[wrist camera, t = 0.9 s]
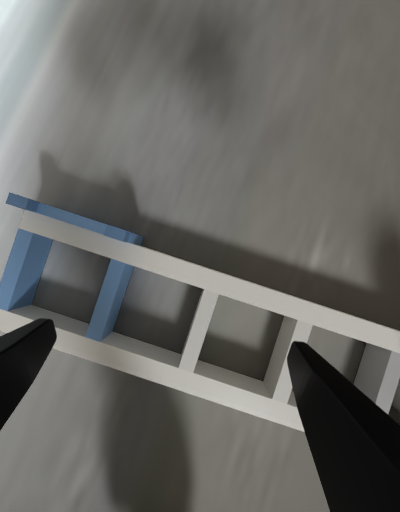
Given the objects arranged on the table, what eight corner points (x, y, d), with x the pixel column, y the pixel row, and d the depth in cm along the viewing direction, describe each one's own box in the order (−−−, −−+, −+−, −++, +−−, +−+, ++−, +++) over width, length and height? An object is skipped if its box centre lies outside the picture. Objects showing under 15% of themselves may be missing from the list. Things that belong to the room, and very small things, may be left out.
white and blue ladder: (436, 457, 24) (502, 514, 18) (12, 317, 24) (-40, 334, 19) (471, 344, 24) (548, 368, 18) (49, 206, 24) (8, 192, 19)
